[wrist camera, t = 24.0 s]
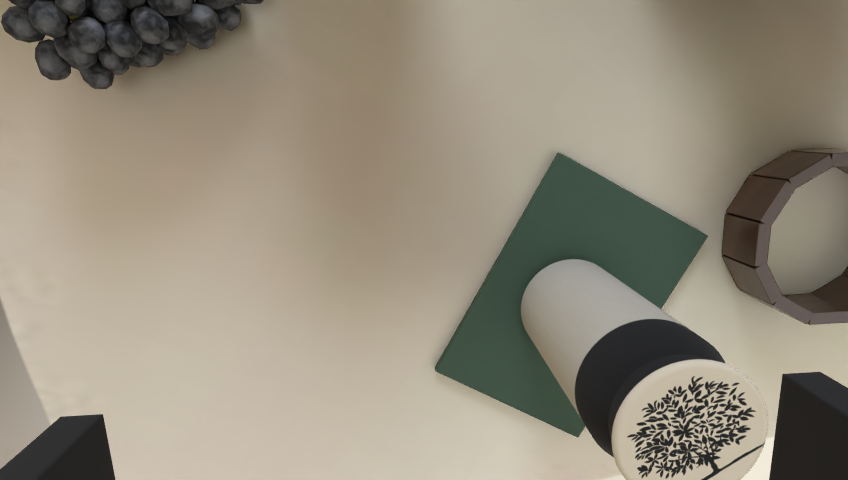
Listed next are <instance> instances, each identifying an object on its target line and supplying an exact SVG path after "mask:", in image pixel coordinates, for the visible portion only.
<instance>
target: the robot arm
mask: <svg viewBox="0 0 848 480" xmlns="http://www.w3.org/2000/svg"><path fill="white" fill-rule="evenodd" d="M0 480H115V476H114V470H113V465H112V460H111V455H110V449H109V444H108V439H107V434H106V428H105V423H104V418H103V414H101V415H84V416H67V417H60V418H59V419H58V420H57V421H55V422H54V423H53V424H52V425H51V426H50V427H49V428H47V429H46V430H45V431H44V432H43V433H42V434H40V436H38V437H37V438H36V439H35V440H34V441H32V442H31V443H30V444H29V445H28V446H27V447H26V448H24V449H23V450H22V451H21V452H20V453H19V454H17V455H16V456H15V457H14V458H13V459H12V460H11V461H9V462H8V463H7V464H6V465H5V466H4V467H3V468H1V469H0ZM769 480H848V388H847V387H845V386H843V385H842V384H840V383H838V382H836V381H835V380H833V379H831V378H830V377H828V376H826V375H824V374H823V373H821V372H811V373H794V374H783V376H782V384H781V392H780V400H779V408H778V416H777V423H776V431H775V440H774V448H773V455H772V463H771V471H770V478H769Z"/></svg>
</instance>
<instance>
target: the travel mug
mask: <svg viewBox="0 0 848 480" xmlns="http://www.w3.org/2000/svg"><path fill="white" fill-rule="evenodd" d="M521 318H522V322H523V325H524V328H525V330H526V332H527V333H528V335H529V337H530V338H531V340H532V341H533V343H534V344H535V346H536V348H537V349H538V351H539V352H540V354H541V356H542V357H543V359H544V360H545V362H546V364H547V365H548V367H549V368H550V370H551V372H552V373H553V375H554V376H555V378H556V379H557V381H558V383H559V384H560V386H561V387H562V389H563V391H564V392H565V394H566V395H567V397H568V399H569V400H570V402H571V403H572V405H573V407H574V408H575V410H576V411H577V413H578V414H579V416H580V418H581V419H582V421H583V422H584V424H585V426H586V427H587V429H588V430H589V432H590V434H591V435H592V437H593V438H594V440H595V441H596V442H597V444H598V445H599V446H600V447H601V448H602V449H603V450H604V451H605V452H607V453H608V454H610V455H611V456H613V457H614V459H615V462H616V464H617V466H618V468H619V470H620V472H621V473H622V475H623V476H624V478H625V479H626V480H740V479H741V478H743V477H744V476H745V475H746V474H747V473H748V471H749V470H750V469H751V468H752V466H753V465H754V464H755V462H756V460H757V459H758V457H759V455H760V453H761V451H762V449H763V447H764V444H765V440H766V436H767V430H768V414H767V409H766V405H765V402H764V399H763V397H762V395H761V393H760V391H759V389H758V388H757V386H756V385H755V384H754V383H753V382H752V380H751V379H749V378H748V377H747V376H746V375H745V374H744V373H742V372H741V371H739V370H738V369H736V368H734V367H732V366H730V365H728V364H726V363H725V361H724V360H723V358H722V356H721V355H720V354H719V352H718V351H717V350H716V349H715V348H714V347H713V346H712V345H711V344H710V343H708V342H707V341H706V340H704V339H703V338H701V337H700V336H698V335H697V334H696V333H694V332H693V331H691V330H690V329H688V328H687V327H685V326H684V325H683V324H681V323H680V322H678V321H677V320H675V319H674V318H673V317H671V316H670V315H668V314H667V313H665V312H664V311H663V310H661V309H660V308H658V307H657V306H655V305H654V304H652V303H651V302H650V301H648V300H647V299H645V298H644V297H642V296H641V295H640V294H638V293H637V292H635V291H634V290H632V289H631V288H630V287H628V286H627V285H625V284H624V283H622V282H621V281H619V280H618V279H617V278H615V277H614V276H612V275H611V274H609V273H608V272H607V271H605V270H604V269H602V268H601V267H599V266H598V265H596V264H594V263H591V262H589V261H585V260H580V259H568V260H562V261H558V262H555V263H553V264H551V265H549V266H547V267H545V268H544V269H542V270H541V271H540V272H539V273H537V274H536V275H535V276H534V278H533V279H532V280H531V281H530V283H529V284H528V286H527V288H526V290H525V292H524V295H523V298H522V302H521Z"/></svg>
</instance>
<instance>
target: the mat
mask: <svg viewBox="0 0 848 480" xmlns="http://www.w3.org/2000/svg"><path fill="white" fill-rule="evenodd" d="M707 237H708V236H707V235H705V234H704V233H702V232H700V231H698V230H697V229H695V228H693V227H691V226H689V225H688V224H686V223H684V222H682V221H680V220H679V219H677V218H675V217H673V216H672V215H670V214H668V213H666V212H664V211H663V210H661V209H659V208H657V207H655V206H654V205H652V204H650V203H648V202H647V201H645V200H643V199H641V198H639V197H638V196H636V195H634V194H632V193H630V192H629V191H627V190H625V189H623V188H622V187H620V186H618V185H616V184H614V183H613V182H611V181H609V180H607V179H605V178H604V177H602V176H600V175H598V174H597V173H595V172H593V171H591V170H589V169H588V168H586V167H584V166H582V165H580V164H579V163H577V162H575V161H573V160H572V159H570V158H568V157H566V156H564V155H563V154H561V153H557V155H556V157H555V159H554V160H553V162H552V164H551V166H550V167H549V169H548V171H547V173H546V174H545V176H544V178H543V180H542V181H541V183H540V185H539V187H538V188H537V190H536V192H535V194H534V195H533V197H532V199H531V201H530V202H529V204H528V206H527V208H526V209H525V211H524V213H523V215H522V216H521V218H520V220H519V222H518V223H517V225H516V227H515V229H514V230H513V232H512V234H511V236H510V237H509V239H508V241H507V243H506V244H505V246H504V248H503V250H502V251H501V253H500V255H499V257H498V258H497V260H496V262H495V264H494V265H493V267H492V269H491V271H490V272H489V274H488V276H487V278H486V279H485V281H484V283H483V285H482V286H481V288H480V290H479V292H478V293H477V295H476V297H475V299H474V300H473V302H472V304H471V306H470V307H469V309H468V311H467V313H466V314H465V316H464V318H463V320H462V321H461V323H460V325H459V327H458V328H457V330H456V332H455V334H454V335H453V337H452V339H451V341H450V342H449V344H448V346H447V348H446V349H445V351H444V353H443V355H442V356H441V358H440V360H439V362H438V363H437V365H436V367H435V371H437V372H439V373H441V374H443V375H445V376H447V377H449V378H452V379H454V380H456V381H458V382H460V383H462V384H464V385H467V386H469V387H471V388H473V389H475V390H477V391H479V392H482V393H484V394H486V395H488V396H490V397H492V398H494V399H497V400H499V401H501V402H503V403H505V404H507V405H509V406H512V407H514V408H516V409H518V410H520V411H522V412H524V413H527V414H529V415H531V416H533V417H535V418H537V419H539V420H542V421H544V422H546V423H548V424H550V425H552V426H554V427H557V428H559V429H561V430H563V431H565V432H567V433H569V434H572V435H574V436H576V437H579V435H580V434H581V432H582V431H583V429H584V427H585V424H584V422H583V421H582V419H581V418H580V416H579V414H578V413H577V411H576V410H575V408H574V407H573V405H572V403H571V402H570V400H569V399H568V397H567V395H566V394H565V392H564V391H563V389H562V387H561V386H560V384H559V383H558V381H557V379H556V378H555V376H554V375H553V373H552V372H551V370H550V368H549V367H548V365H547V364H546V362H545V360H544V359H543V357H542V356H541V354H540V352H539V351H538V349H537V348H536V346H535V344H534V343H533V341H532V340H531V338H530V337H529V335H528V333H527V332H526V330H525V328H524V325H523V322H522V318H521V302H522V298H523V295H524V292H525V290H526V288H527V286H528V284H529V283H530V281H531V280H532V279H533V278H534V276H535V275H536V274H537V273H539V272H540V271H541V270H542V269H544V268H545V267H547V266H549V265H551V264H553V263H555V262H558V261H562V260H568V259H580V260H585V261H589V262H591V263H594V264H596V265H598V266H599V267H601V268H602V269H604V270H605V271H607V272H608V273H609V274H611V275H612V276H614V277H615V278H617V279H618V280H619V281H621V282H622V283H624V284H625V285H627V286H628V287H630V288H631V289H632V290H634V291H635V292H637V293H638V294H640V295H641V296H642V297H644V298H645V299H647V300H648V301H650V302H651V303H652V304H654V305H655V306H657V307H658V308H660V309H661V308H662V307H663V305H664V303H665V302H666V300H667V299H668V297H669V296H670V294H671V293H672V291H673V290H674V288H675V286H676V285H677V283H678V282H679V280H680V279H681V277H682V276H683V274H684V272H685V271H686V269H687V268H688V266H689V265H690V263H691V262H692V260H693V259H694V257H695V255H696V254H697V252H698V251H699V249H700V248H701V246H702V245H703V243H704V241H705V240H706V238H707Z"/></svg>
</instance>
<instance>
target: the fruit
mask: <svg viewBox="0 0 848 480" xmlns="http://www.w3.org/2000/svg"><path fill="white" fill-rule="evenodd" d="M9 1H10V2H11V3H13V4H15V5H17V6H13V7H10V8H9V9H8V10H7V11H6V12H5V13H4V14H3V16H2V21H1V23H2V25H3V27H4V30H5V31H6V32H7V33H8V34H10V35H11V36H12V37H14V38H15V39H16V40H20V41H24V42H29V43H30V42H35V41H40V42H39V43H38V45H37V47H36V48H35V59H36V62H37V64H38V67H39V70H40V72H41V74H42V75H43V76H45V77H47V78H48V79H50V80H62V79H65V78H67V77H68V76H69V75H70V73H71V67H73V68H76V69H78V70H79V71H80V73H81V75H82V77H83V79H84V81H85V82H87V83H88V84H89V85H90V86H91V87H93V88H95V89H107V88H108V87H110V86H111V85H112V82H113V79H114V76H113V75H122V74H123V73H125V72H126V71H127V70H128V69H129V66H130V65H132V66H135V67H141V66H146V67H153V66H157V65H158V64H159V63H160V62H161V61H162V60H163V52H164V53H166V54H167V55H178V54H179V53H180V52H181V51H182V50H184V49H185V45H186V41H187V42H189V43H190V44H192V45H193V46H195V47H196V48H198V49H199V50H201V49H206V48H209V47H210V46H211V45H213V43H214V41H215V32H216V30H217V28H219V29H225V30H231V31H232V30H233V29H234V28H236V27H237V26H238V25H240V21H241V15H240V10H239V9H238V8H237V7H236V6H235V5H240V4H241V3H243V4H258V3H261V2H262V1H263V0H196V1H195V2H193V1H194V0H9ZM19 6H20V7H19ZM127 8H128V9H127ZM70 21H71V22H72V23H71V22H70ZM45 35H48V36H50V37H53V39H54V41H52V40H49V39H48V40H44V41H42V40H43V39H44V37H45Z"/></svg>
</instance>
